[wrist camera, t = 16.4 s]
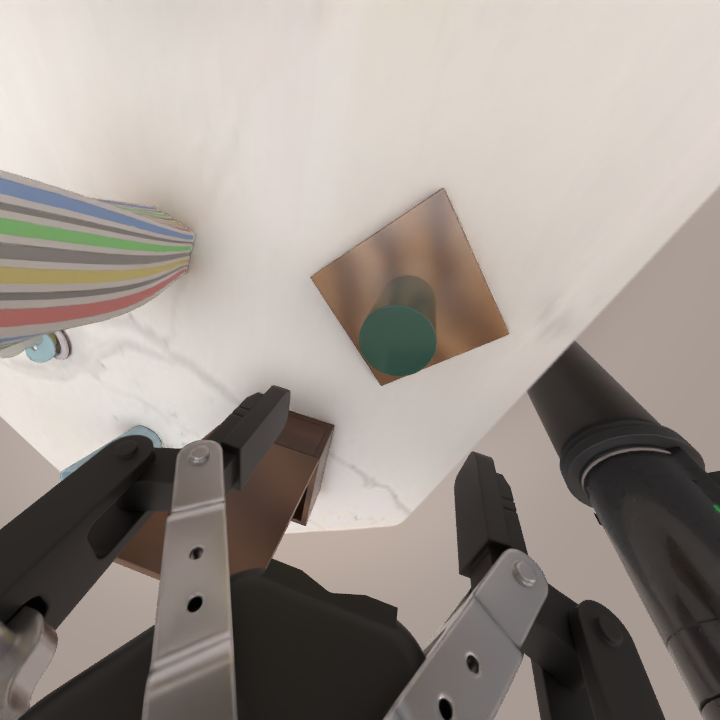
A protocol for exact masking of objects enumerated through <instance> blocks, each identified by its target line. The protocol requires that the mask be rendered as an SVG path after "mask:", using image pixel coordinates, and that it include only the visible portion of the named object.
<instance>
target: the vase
mask: <svg viewBox="0 0 720 720" xmlns="http://www.w3.org/2000/svg"><path fill="white" fill-rule="evenodd" d="M195 236H196V233H194V232H193V231H191V230H190V229H188V228H185V226H184V225H182V224H181V223H179V222H178V221H174V220H173V218H172V217H170V216H169V215H167V214H166V213H162V211H161V210H160V209H158V208H157V207H155V206H151V205H138V204H131V203H125V202H118V201H111V200H103V199H95V198H89V197H86V196H83V195H80V194H77V193H74V192H71V191H68V190H65V189H61V188H58V187H55V186H52V185H48V184H45V183H42V182H39V181H36V180H32V179H29V178H26V177H23V176H20V175H16V174H12V173H9V172H5V171H2V170H0V351H1V350H3V349H5V348H8V347H10V346H13V345H16V344H19V343H21V342H24V341H27V340H30V339H33V338H36V337H40V336H43V335H46V334H50V333H54V332H57V331H61V330H64V329H69V328H73V327H78V326H82V325H87V324H91V323H96V322H100V321H104V320H108V319H111V318H113V317H116V316H119V315H122V314H125V313H128V312H130V311H132V310H134V309H136V308H138V307H140V306H142V305H144V304H146V303H147V302H149V301H150V300H152V299H153V298H155V297H156V296H158V295H159V294H160V293H161V292H163V291H164V290H165V289H166V288H167V287H169V286H170V285H171V284H172V283H173V282H174V281H175V280H176V279H178V278H179V277H181V276H182V275H184V274H186V273H187V269H188V266H187V264H189V260H190V252H192V248H193V242H194V240H195Z"/></svg>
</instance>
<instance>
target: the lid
mask: <svg viewBox="0 0 720 720" xmlns="http://www.w3.org/2000/svg"><path fill="white" fill-rule="evenodd" d="M218 426H219V425H218ZM218 426H217V427H218ZM217 427H216V428H217ZM216 428H215V429H214V430H212V431H211V432H210V433H209V434H208V435H206V436H205V437H204V438H203V439H202V440H205V439H206V438H208V437H209V436H210V435H211V434H212V433H213V432H214V431H215V430H216ZM318 462H319V459H318V458H315V457H312V456H309V455H306V454H303V453H300V452H298V451H295V450H292V449H289V448H286V447H283V446H280V445H277V444H274V443H273V445H272V446H271V447H270V449H269V450H268V452H267V453H266V455H265V456H264V458H263V459H262V461H261V462H260V463H259V465H258V466H257V468H256V469H255V471H254V472H253V474H252V475H251V477H250V478H249V479H248V481H247V482H246V484H245V485H244V487H243V488H242V490H241V491H238V490H235V489H232V488H231V490H230V491H229V492H228V494H227V495H226V497H225V501H226V518H227V536H228V554H229V573H230V576H231V575H233V574H235V573H238V572H241V571H244V570H248V569H252V568H267V566H268V564H269V562H270V560H271V558H273V555H274V554H275V552H276V550H277V547H278V545H279V543H280V541H281V539H282V537H283V535H284V533H285V531H286V529H287V527H288V525H289V523H290V521H291V519H292V516H293V514H294V512H295V510H296V508H297V506H298V504H299V502H300V500H301V498H302V496H303V494H304V492H305V490H306V487H307V485H308V483H309V481H310V479H311V477H312V475H313V473H314V471H315V469H316V467H317V465H318ZM170 513H171V512H168V511H155V512H154V513H153V515H152V516H151V517H150V518H149V519H148V521H147V522H146V523H145V524H144V525H143V527H142V528H141V529H140V530H139V531H138V533H137V534H136V535H135V536H134V537H133V538H132V540H131V541H130V542H129V543H128V544H127V546H126V547H125V548H124V549H123V550H122V552H121V553H120V554H119V555H118V556H117V557H116V559H115V560H114V561H113V562H115V563H118V564H120V565H123V566H125V567H128V568H130V569H133V570H135V571H138V572H140V573H143V574H145V575H148V576H150V577H153V578H155V579H158V580H160V574H161V564H162V555H163V546H164V536H165V527H166V520H167V516H168V514H170Z"/></svg>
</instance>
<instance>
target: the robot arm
mask: <svg viewBox="0 0 720 720" xmlns="http://www.w3.org/2000/svg"><path fill="white" fill-rule="evenodd" d="M289 402H290V390H287V389H284V388H281V387H278V386H275V385H273V386H271V387H270V389H269V390H268V391H267V392H266V393H265V394H261V393H256V394H254V395H252V396H249V397H247V398H246V399H245V400H244V401H243V402H242V403H241V404H240V405H239V407H237V408H236V409H235V410H234V411H233V413H232V414H230V415H229V416H228V417H227V418H226V419H225V420H224V421H223V422H222V423H221V424H220V425H219V426H218V427H217V428H216V430H215V431H214V432H213V433H212V434H211V435H210V436H209V437H208V438H206V439H205V440H198V441H195V442H192V443H190V444H188V445H186V446H185V447H183V448H181V449H174V448H156V447H154V445H153V442H152V440H151V439H150V438H148V437H146V436H143V435H129V436H125V437H121V438H119V439H116V440H114V441H113V442H111V443H109V444H108V445H107V446H105V447H104V448H103V449H102V450H100V451H99V452H98V453H97V454H95V455H94V456H93V457H92V458H90V459H89V460H88V461H86V462H85V463H84V464H83V465H81V466H80V467H79V468H78V469H76V470H75V471H74V472H73V473H71V474H70V475H69V476H68V477H66V478H65V479H64V480H62V481H61V482H60V483H59V484H57V485H56V486H55V487H54V488H52V489H51V490H50V491H49V492H47V493H46V494H45V495H44V496H42V497H41V498H40V499H38V500H37V501H36V502H35V503H33V504H32V505H31V506H30V507H28V508H27V509H26V510H25V511H23V512H22V513H21V514H20V515H18V516H17V517H16V518H14V519H13V520H12V521H11V522H9V523H8V524H7V525H6V526H4V527H3V528H2V529H1V530H0V720H494V718H495V716H496V714H497V712H498V710H499V708H500V706H501V704H502V702H503V700H504V698H505V696H506V694H507V692H508V689H509V687H510V685H511V683H512V681H513V679H514V677H515V675H516V673H517V671H518V669H519V667H520V665H521V662H522V660H523V655H524V653H525V654H526V655H527V656H529V657H530V658H531V663H532V669H533V674H534V681H535V687H536V693H537V699H538V706H539V712H540V717H541V720H665V718H664V715H663V713H662V710H661V708H660V705H659V703H658V700H657V699H656V695H655V693H654V691H653V688H652V686H651V683H650V681H649V678H648V676H647V674H646V671H645V669H644V666H643V664H642V661H641V659H640V656H639V654H638V652H637V649H636V647H635V644H634V642H633V640H632V637H631V636H630V634H629V632H628V631H627V629H626V628H625V626H624V625H623V624H622V622H621V621H620V620H619V619H618V618H617V617H616V616H615V615H614V614H613V613H612V612H611V611H610V610H609V609H607V608H606V607H605V606H603V605H602V604H600V603H598V602H595V601H592V600H585V601H583V602H581V603H580V604H577V603H575V602H574V601H572V600H571V599H570V598H568V597H567V596H565V595H564V594H562V593H561V592H559V591H558V590H556V589H555V588H554V587H552V586H551V585H550V584H548V583H547V580H546V578H545V575H544V574H543V571H542V570H541V568H540V567H539V566H538V564H537V563H536V562H535V561H534V560H533V559H532V558H531V557H529V556H528V553H527V550H526V545H525V542H524V538H523V534H522V530H521V526H520V523H519V519H518V515H517V513H516V507H515V503H514V502H513V500H514V499H513V496H512V492H511V488H510V486H509V484H508V483H507V482H506V480H505V478H504V477H503V475H501V474H499V473H496V470H495V466H494V461H493V459H492V458H491V457H488V456H485V455H482V454H479V453H476V452H471V453H470V455H469V456H468V458H467V460H466V461H465V463H464V465H463V466H462V468H461V470H460V471H459V473H458V475H457V477H456V480H455V486H454V492H455V493H454V494H455V511H456V526H457V542H458V543H457V544H458V560H459V574H461V575H463V576H466V577H469V578H470V579H471V588H470V589H469V590H468V592H467V593H466V594H465V596H464V597H463V598H462V599H461V601H460V602H459V603H458V605H457V606H456V607H455V609H454V610H453V611H452V613H451V614H450V615H449V617H448V618H447V619H446V620H445V622H444V623H443V624H442V626H441V627H440V628H439V630H438V631H437V632H436V633H435V635H434V636H433V637H432V638H431V639H430V640H429V642H428V643H427V644H426V645H425V647H424V648H423V649H421V647H420V646H419V644H418V643H417V641H416V640H415V638H414V637H413V636H412V635H411V633H410V632H409V631H408V630H407V629H406V628H405V627H404V626H403V625H402V624H401V623H400V622H399V621H398V620H397V607H394V606H392V605H389V604H387V603H384V602H381V601H379V600H376V599H374V598H371V597H369V596H366V595H352V594H338V593H331V592H328V591H327V590H326V589H324V588H323V587H322V586H321V585H319V584H318V583H317V582H316V581H314V580H313V579H312V578H310V577H309V576H308V575H307V574H306V573H304V572H303V571H302V570H300V569H297V568H294V567H292V566H289V565H287V564H284V563H282V562H279V561H277V560H274V559H272V558H271V560H270V562H269V564H268V566H267V568H252V569H248V570H244V571H241V572H238V573H235V574H233V575H231V576H230V573H229V554H228V536H227V518H226V501H225V497H226V495H227V494H228V492H229V491H230V490H231V488H232V489H235V490H238V491H241V490H242V488H243V487H244V485H245V484H246V482H247V481H248V479H249V478H250V477H251V475H252V474H253V472H254V471H255V469H256V468H257V466H258V465H259V463H260V462H261V461H262V459H263V458H264V456H265V455H266V453H267V452H268V450H269V449H270V447H271V446H272V445H273V443H274V442H275V440H276V439H277V437H278V436H279V434H280V433H281V431H282V430H283V428H284V426H285V424H286V421H287V418H288V411H289ZM580 485H581V487H582V489H583V491H584V493H585V495H586V496H587V498H588V500H589V502H590V503H591V505H592V507H593V508H594V510H595V512H596V514H595V513H594V514H595V516H596V518H597V520H598V522H599V524H600V525H602V526H603V528H604V529H605V531H606V533H607V535H608V537H609V539H610V541H611V543H612V545H613V547H614V549H615V550H616V552H617V554H618V556H619V558H620V560H621V562H622V564H623V566H624V568H625V570H626V572H627V574H628V575H629V577H630V579H631V581H632V583H633V585H634V587H635V589H636V591H637V593H638V594H639V596H640V598H641V600H642V602H643V604H644V606H645V608H646V610H647V612H648V614H649V616H650V618H651V619H652V622H653V623H654V625H655V627H656V629H657V631H658V633H659V635H660V637H661V639H662V641H663V643H664V645H665V646H666V648H667V650H668V652H669V654H670V656H671V658H672V660H673V662H674V664H675V666H676V668H677V669H678V671H679V673H680V675H681V677H682V679H683V681H684V683H685V685H686V687H687V689H688V690H689V692H690V694H691V696H692V698H693V700H694V702H695V704H696V706H697V708H698V710H699V712H700V714H701V716H702V717H703V720H720V471H716V472H710V473H707V472H705V470H704V469H703V468H702V467H701V466H700V465H699V464H698V463H697V462H696V461H695V460H694V459H693V458H692V457H691V456H690V455H689V454H688V453H687V452H686V451H685V450H684V449H682V448H681V447H680V446H677V447H672V448H663V447H660V446H654V445H644V444H637V445H626V446H621V447H616V448H613V449H610V450H607V451H605V452H602V453H600V454H599V455H597V456H595V457H594V458H592V459H591V460H590V461H589V462H588V463H587V464H586V465H585V466H584V467H583V469H582V471H581V473H580ZM155 511H168V512H171V513H170V514H168V516H167V520H166V527H165V536H164V546H163V555H162V564H161V574H160V583H159V593H158V602H157V611H156V621H155V625H153V626H152V627H150V628H149V629H147V630H146V631H144V632H143V633H141V634H140V635H138V636H137V637H135V638H134V639H132V640H130V641H129V642H127V643H126V644H124V645H123V646H121V647H120V648H118V649H117V650H115V651H114V652H112V653H111V654H109V655H108V656H106V657H104V658H103V659H101V660H100V661H99V662H97V663H95V664H94V665H92V666H91V667H89V668H88V669H86V670H85V671H83V672H82V673H80V674H79V675H77V676H75V677H74V678H72V679H71V680H69V681H68V682H66V683H65V684H63V685H62V686H60V687H59V688H57V689H56V690H54V691H53V692H51V693H50V694H48V695H47V696H45V697H44V698H43V699H41V700H40V701H39V702H37V703H36V704H35V705H33V706H32V707H31V708H30V700H31V697H32V694H33V691H34V689H35V687H36V685H37V683H38V681H39V679H40V678H41V676H42V675H43V673H44V672H45V670H46V669H47V667H48V666H49V664H50V662H51V660H52V658H53V656H54V654H55V652H56V648H57V642H58V637H57V633H56V631H55V630H56V629H57V628H58V626H59V625H60V624H61V623H62V622H63V620H64V619H65V618H66V617H67V616H68V615H69V613H70V612H71V611H72V610H73V608H74V607H75V606H76V605H77V604H78V603H79V601H80V600H81V599H82V598H83V597H84V596H85V594H86V593H87V592H88V590H89V589H90V588H91V587H92V586H93V585H94V584H95V582H96V581H97V580H98V579H99V578H100V576H101V575H102V574H103V573H104V572H105V571H106V569H107V568H108V567H109V566H110V565H111V563H112V562H113V561H114V560H115V559H116V557H117V556H118V555H119V554H120V553H121V552H122V550H123V549H124V548H125V547H126V546H127V544H128V543H129V542H130V541H131V540H132V538H133V537H134V536H135V535H136V534H137V533H138V531H139V530H140V529H141V528H142V527H143V525H144V524H145V523H146V522H147V521H148V519H149V518H150V517H151V516H152V515H153V513H154V512H155ZM29 708H30V709H29Z"/></svg>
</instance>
